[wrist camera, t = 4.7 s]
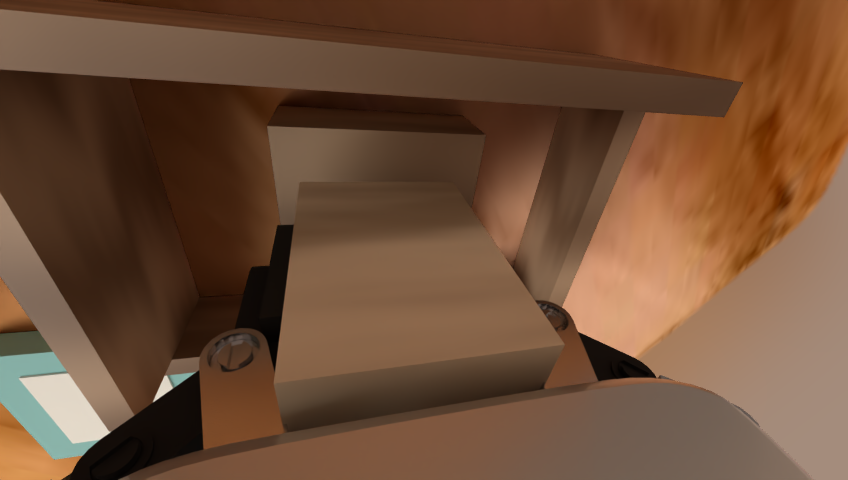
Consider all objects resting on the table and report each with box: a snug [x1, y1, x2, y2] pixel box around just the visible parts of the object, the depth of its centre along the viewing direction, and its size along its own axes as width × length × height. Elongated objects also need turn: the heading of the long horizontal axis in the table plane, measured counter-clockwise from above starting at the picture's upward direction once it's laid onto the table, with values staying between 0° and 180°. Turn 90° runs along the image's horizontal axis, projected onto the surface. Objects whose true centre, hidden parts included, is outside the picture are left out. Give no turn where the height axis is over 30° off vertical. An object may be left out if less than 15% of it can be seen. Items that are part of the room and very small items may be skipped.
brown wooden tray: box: [0, 0, 743, 432], centre depth 15 cm, size 14×20×7 cm
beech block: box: [274, 182, 565, 432], centre depth 10 cm, size 5×5×7 cm
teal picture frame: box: [0, 331, 196, 460], centre depth 20 cm, size 9×9×2 cm
